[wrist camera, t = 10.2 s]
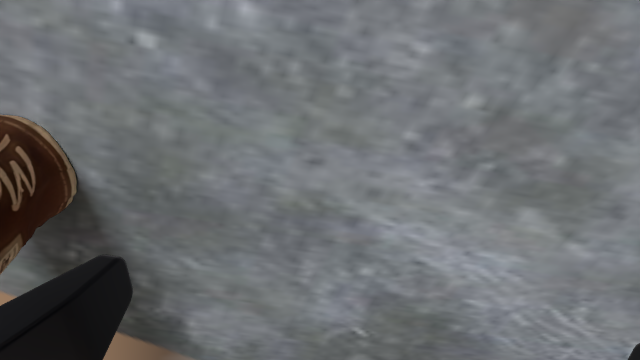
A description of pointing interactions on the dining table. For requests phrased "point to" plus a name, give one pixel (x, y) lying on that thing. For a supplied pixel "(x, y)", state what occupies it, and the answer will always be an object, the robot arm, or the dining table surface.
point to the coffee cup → (29, 183)
